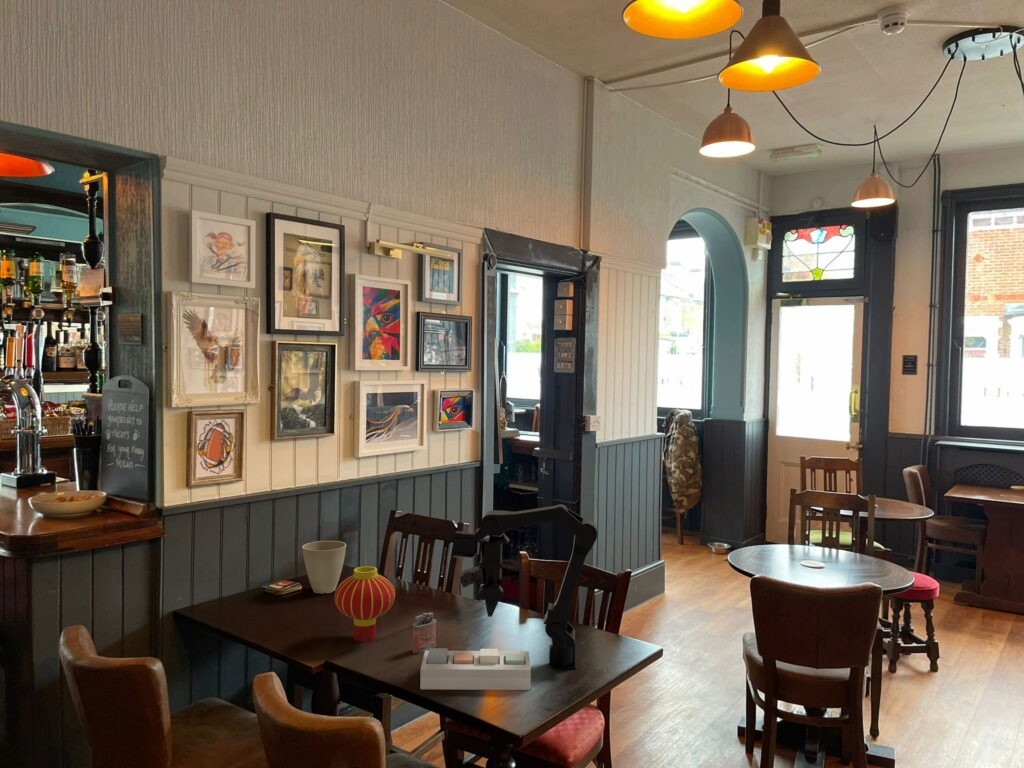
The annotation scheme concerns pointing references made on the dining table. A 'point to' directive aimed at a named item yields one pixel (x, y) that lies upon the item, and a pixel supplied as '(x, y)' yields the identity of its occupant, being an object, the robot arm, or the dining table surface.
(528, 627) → the dining table surface
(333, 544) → the plant pot
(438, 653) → the key slate
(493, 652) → the key cream
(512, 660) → the key sage
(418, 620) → the lighter
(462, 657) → the key terracotta
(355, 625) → the lantern
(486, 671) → the keypad
